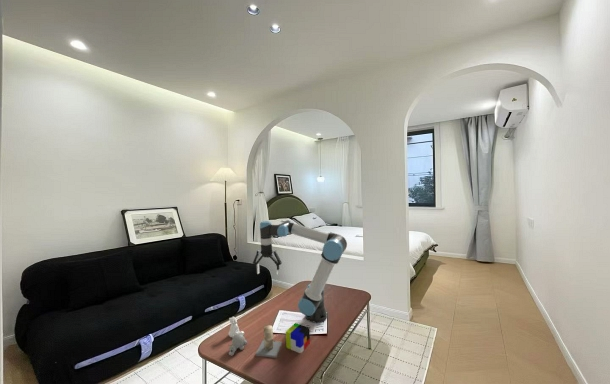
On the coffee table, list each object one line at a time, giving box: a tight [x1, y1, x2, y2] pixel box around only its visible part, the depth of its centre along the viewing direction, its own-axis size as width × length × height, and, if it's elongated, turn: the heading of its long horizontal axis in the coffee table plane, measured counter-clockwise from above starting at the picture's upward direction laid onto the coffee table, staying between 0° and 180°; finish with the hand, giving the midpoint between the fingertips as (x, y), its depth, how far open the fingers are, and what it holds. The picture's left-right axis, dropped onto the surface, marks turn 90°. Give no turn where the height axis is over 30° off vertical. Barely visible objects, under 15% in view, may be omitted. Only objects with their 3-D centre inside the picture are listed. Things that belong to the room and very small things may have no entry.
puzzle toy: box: [285, 322, 311, 354], centre depth 153 cm, size 10×10×10 cm
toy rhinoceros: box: [228, 334, 248, 357], centre depth 150 cm, size 7×12×8 cm, turn 147°
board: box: [254, 339, 283, 359], centre depth 151 cm, size 12×12×1 cm
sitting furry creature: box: [228, 316, 245, 339], centre depth 165 cm, size 10×9×12 cm
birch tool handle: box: [263, 324, 274, 350], centre depth 150 cm, size 5×5×12 cm
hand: (267, 274), depth 180 cm, fingers open, 13 cm apart
